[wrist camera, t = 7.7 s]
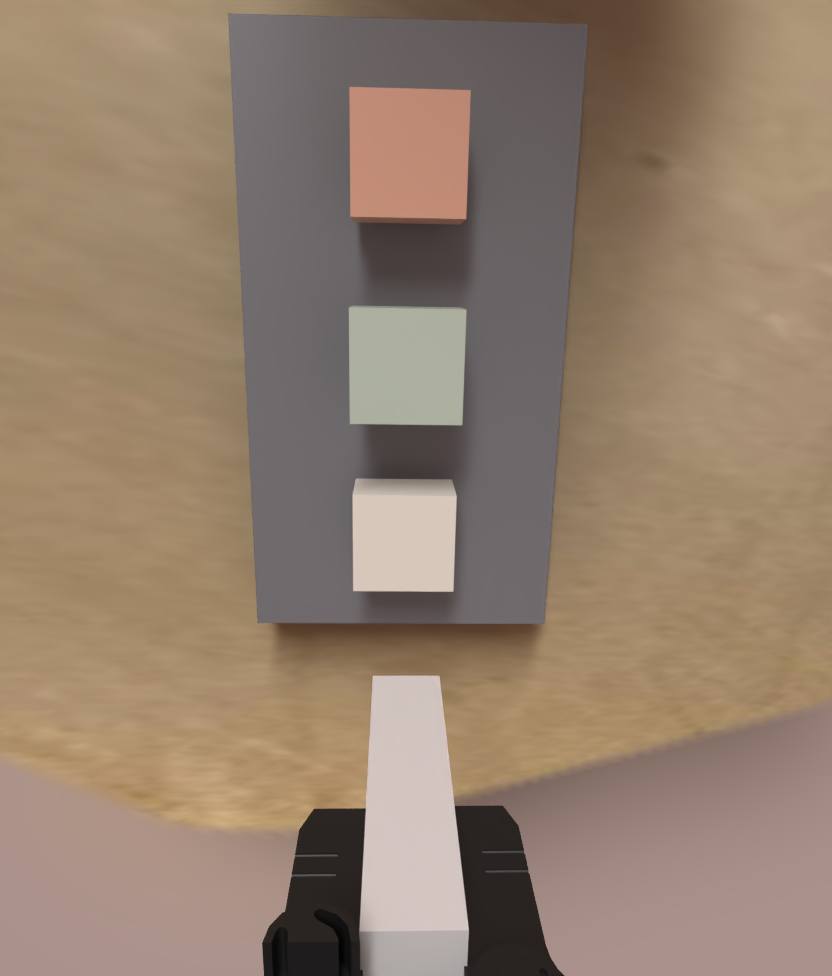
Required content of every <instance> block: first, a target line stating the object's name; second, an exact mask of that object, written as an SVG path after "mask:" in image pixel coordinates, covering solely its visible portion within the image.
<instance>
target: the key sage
mask: <svg viewBox="0 0 832 976" xmlns="http://www.w3.org/2000/svg"><path fill="white" fill-rule="evenodd" d="M465 337H466V309H463V308H461V307H409V306H351V307H349V389H350V424H397V425H462V421H463V393H464V365H465Z"/></svg>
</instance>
